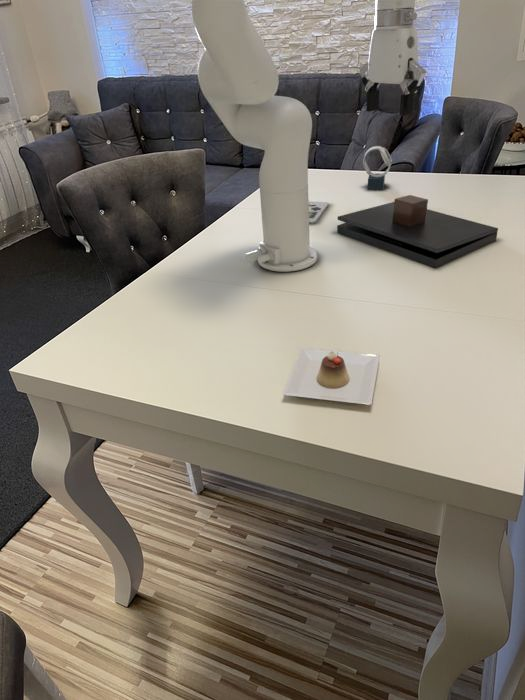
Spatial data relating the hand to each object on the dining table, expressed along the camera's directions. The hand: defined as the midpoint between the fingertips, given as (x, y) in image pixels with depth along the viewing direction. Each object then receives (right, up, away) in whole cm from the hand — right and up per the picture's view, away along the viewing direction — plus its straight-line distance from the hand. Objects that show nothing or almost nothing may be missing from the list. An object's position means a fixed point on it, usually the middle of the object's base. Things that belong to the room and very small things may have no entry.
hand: (388, 112), depth 116 cm
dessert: (-17, -56, -39) cm, 70 cm away
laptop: (+6, -26, +4) cm, 27 cm away
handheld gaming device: (-16, -16, +22) cm, 32 cm away
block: (+5, -23, +2) cm, 24 cm away
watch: (+5, -5, +36) cm, 37 cm away
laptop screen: (+6, -24, +2) cm, 25 cm away
